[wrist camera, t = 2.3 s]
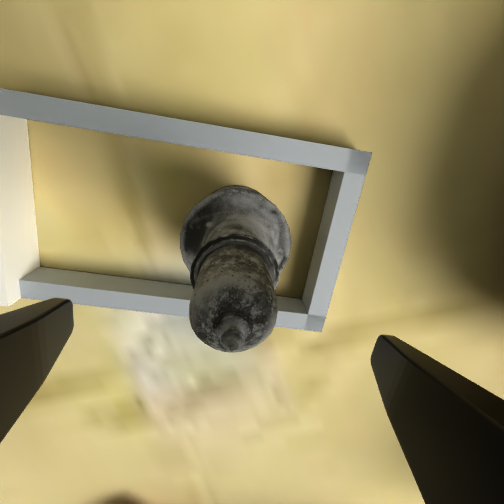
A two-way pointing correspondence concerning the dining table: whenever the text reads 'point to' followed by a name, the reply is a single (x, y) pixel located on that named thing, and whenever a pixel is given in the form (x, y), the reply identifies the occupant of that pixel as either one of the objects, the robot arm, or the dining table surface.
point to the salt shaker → (234, 266)
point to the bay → (171, 131)
